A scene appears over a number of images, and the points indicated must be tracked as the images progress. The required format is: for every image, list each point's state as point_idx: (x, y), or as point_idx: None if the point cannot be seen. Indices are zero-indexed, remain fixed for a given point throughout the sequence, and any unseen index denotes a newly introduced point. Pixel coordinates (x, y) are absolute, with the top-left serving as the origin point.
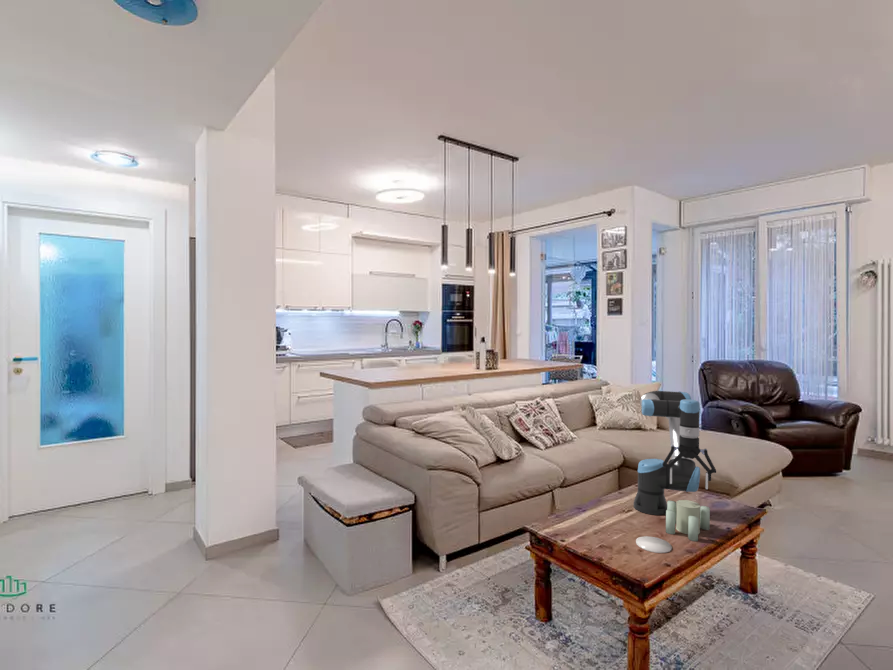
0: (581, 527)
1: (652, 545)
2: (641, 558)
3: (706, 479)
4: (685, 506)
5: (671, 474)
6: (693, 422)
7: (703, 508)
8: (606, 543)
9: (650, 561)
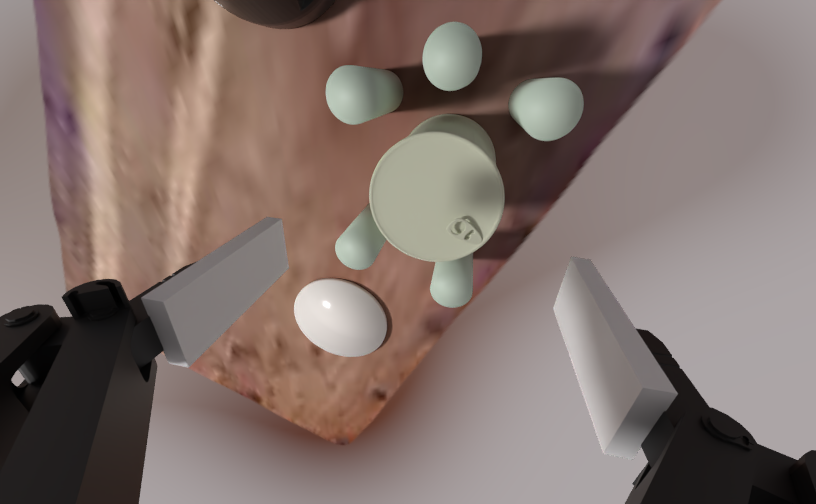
0: (149, 268)
1: (338, 332)
2: (325, 382)
3: (584, 382)
4: (415, 250)
5: (231, 321)
6: None
7: (534, 136)
8: (239, 337)
9: (345, 389)
